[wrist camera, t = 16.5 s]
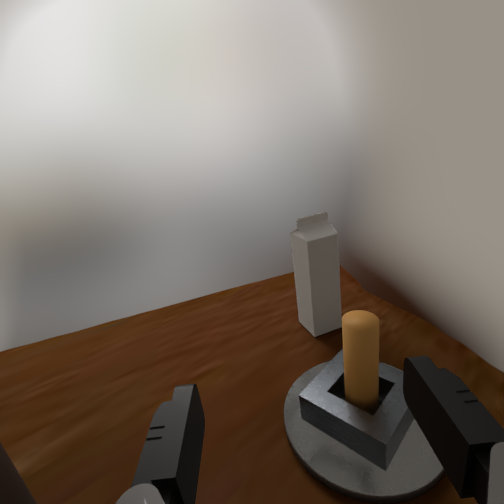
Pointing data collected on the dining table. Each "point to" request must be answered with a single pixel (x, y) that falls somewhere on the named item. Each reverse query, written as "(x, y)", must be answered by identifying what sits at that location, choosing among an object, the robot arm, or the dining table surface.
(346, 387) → the pin
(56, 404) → the dining table surface
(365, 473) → the square frame on disc
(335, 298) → the milk
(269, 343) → the dining table surface
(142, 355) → the dining table surface
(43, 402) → the dining table surface
